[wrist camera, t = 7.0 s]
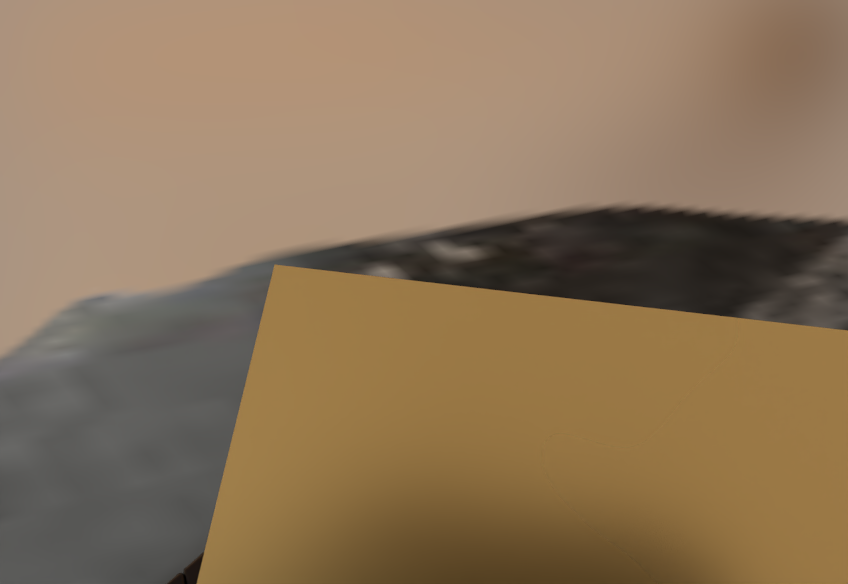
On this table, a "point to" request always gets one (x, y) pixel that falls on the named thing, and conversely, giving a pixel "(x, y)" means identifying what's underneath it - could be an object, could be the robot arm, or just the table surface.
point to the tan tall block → (529, 442)
